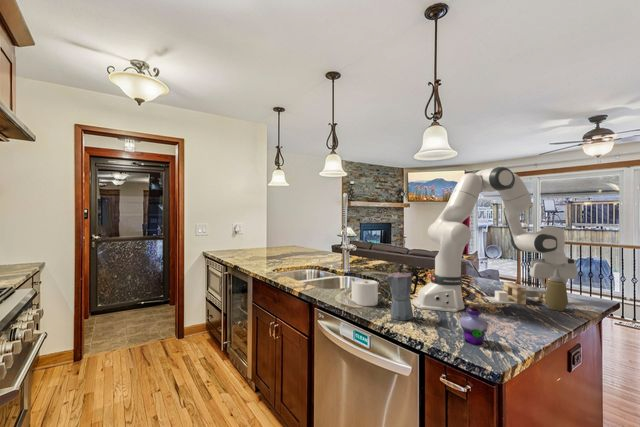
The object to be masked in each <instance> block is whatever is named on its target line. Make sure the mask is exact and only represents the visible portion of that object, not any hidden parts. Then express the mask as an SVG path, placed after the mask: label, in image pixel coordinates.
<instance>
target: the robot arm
mask: <svg viewBox="0 0 640 427" xmlns="http://www.w3.org/2000/svg"><path fill="white" fill-rule="evenodd" d="M512 171H513V170H512ZM512 171H511V169H509V168H508V167H504V166H497V167H491V168H489V167H488V168H484V169H480V170H476V171H475V172H468V173H464V174H463V175H462V176H461V177H460V179H459V180H458V181H457V183H456V185H455V187H454V188H453V191H452V193H451V195H450V197H449V199H448V202H447V204H446V205H445V207H444V209H443V210H442V212H441V213H440V214H439V216H437V218H436V219H435V221H433V222H432V223H431V225H429V226H428V228H427V235H428V238H429V239H430V240H431V241H432V242H435V243H437V244H440V246H439V251H438V253H437V254H436V256H435V258H434V274H431V273H428V274H427V278H428V279H430V282H428V283H427V284H426V285H424V286H423V287H421V288H420V289H418V292H417V293H418V294H417V296H416V297H417V298H413V299H412V304H413V306H414V307H416V308H418V309H421V310H430V311H441V312H453V313H457V312H458V311H461V310H464V309H465V308H466V307H465V304H464V301H463V294H462V288H463V287H462V286H463V277H462V259H463V258H462V257H463V254H464V250H465V247H466V245H468V244H469V242H470V241H471V239H472V231H471V229H470V228H469V226H467V225H466V224H464V223H463V222H464V221H465V220H466V219H468V218H469V217H470V216H471V214H472V213H473V210H474V207H475V206H476V203H477V201H478V199H479V197H480V194H481V193H486V192H487V193H493V192H498V193H499V196H500V198H501V200H502V202H503V206H504V208H503V216H504V220H505V222H506V225H507V229H508V232H509V235H510V242H511V246H512V247H513V248H514V250H516V251H517V252H530V253H537V254H538V253H539V254H541V258H533V259H532V260H531V261H530V267H529V277H531V278H533V279H538V281H539V283H540V288H547V283H545V282H544V281H545V279H550V277H552V276H553V274H554V271H555V269H558V270H559V274H560V277H561V278H563V283H565V284H566V285H567V283H568V282H569V280H577V278H578V272H579V271H578V266H577V260H576V259H574V258H572V257H571V258H570V257H568V256H566V255H565V254H566V253H565V244H566V239H565V238H566V237H565V233H564V230H563V228H562V227H560V226H555V225H554V226H553V225H544V226H543V228H542V229H541V230H539V231H537V232H528V231H526V230H524V228H523V225H522V223H521V219H520V215H521V214H522V213H524V212H526V211H527V210H528V209H529V208H530V207H531V205H532V197H531V194H530V192H529V190H528V188H527V185H525V183H524V181H523V180H522V179H521V177H520V176H519V175H518V174H517V173H514V172H512Z"/></svg>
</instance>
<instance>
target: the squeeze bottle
mask: <svg viewBox="0 0 640 427" xmlns="http://www.w3.org/2000/svg"><path fill="white" fill-rule="evenodd" d="M549 280H551V281H549V282H548V281H547V283H546V289H545V290H546V298H545V300H546V303H547V304H546V305H547V308H548V309H549V310H552V311H558V312H564V311H565V310H566V308H567V306H568V304H569V298H568V291H567V283H566V284H565V283H563V278H561V277H560V274H559V270H558V269H555V271H554V274H553V276H552V277H550V278H549Z"/></svg>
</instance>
